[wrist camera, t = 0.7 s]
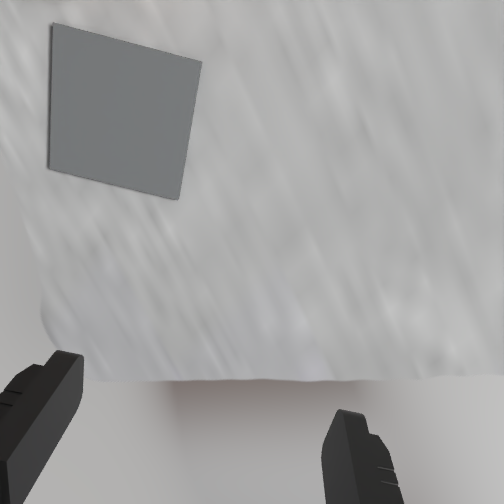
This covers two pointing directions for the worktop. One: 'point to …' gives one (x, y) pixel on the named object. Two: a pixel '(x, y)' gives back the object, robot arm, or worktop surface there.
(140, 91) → the charcoal mat
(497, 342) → the worktop surface
